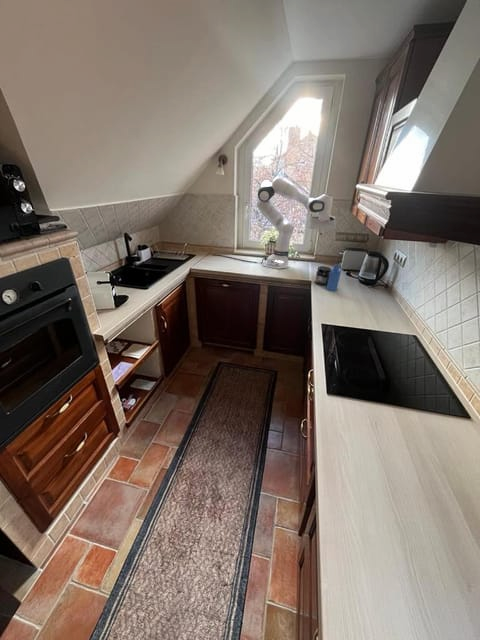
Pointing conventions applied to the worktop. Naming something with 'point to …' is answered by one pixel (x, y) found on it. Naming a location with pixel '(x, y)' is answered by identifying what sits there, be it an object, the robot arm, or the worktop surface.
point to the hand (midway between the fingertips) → (320, 235)
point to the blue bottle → (334, 278)
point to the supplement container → (322, 275)
